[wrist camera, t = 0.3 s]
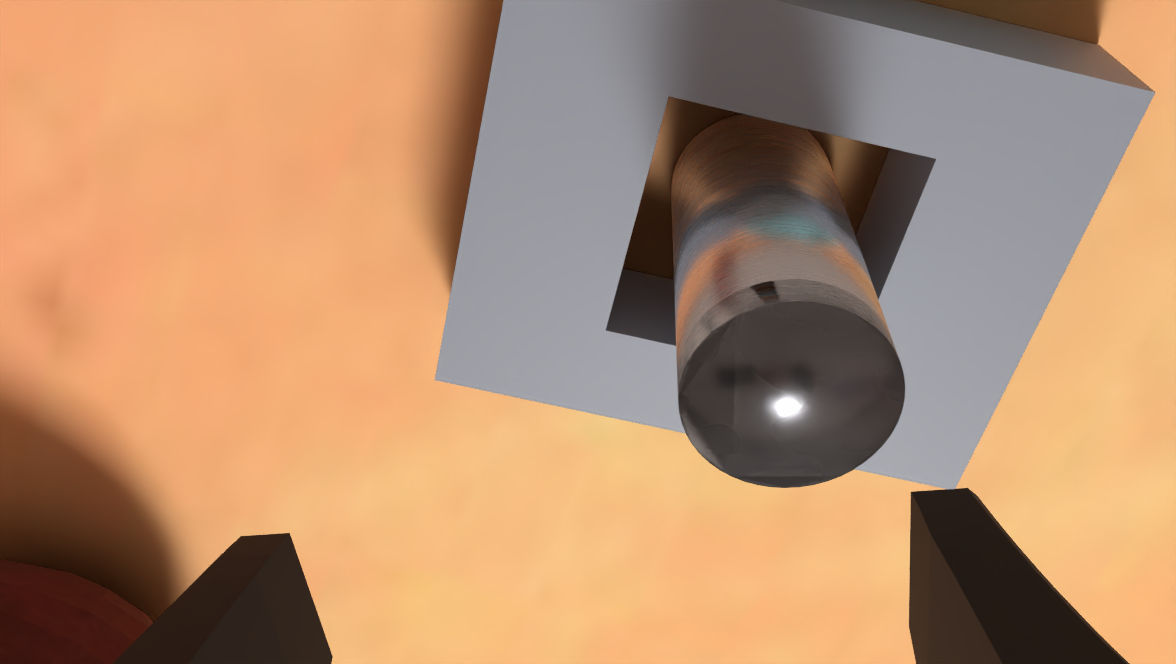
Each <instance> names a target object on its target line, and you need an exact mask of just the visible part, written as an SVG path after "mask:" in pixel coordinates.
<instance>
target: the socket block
mask: <svg viewBox="0 0 1176 664" xmlns="http://www.w3.org/2000/svg"><path fill="white" fill-rule="evenodd" d="M1154 94H1155V92H1154V91H1153V90H1152V89H1151V88H1149V87H1148V86H1147V85H1146V84H1145V83H1144V82H1142V81H1141V80H1140V79H1139V78H1138V77H1136V76H1135V75H1134V74H1133V73H1132V72H1130V71H1129V70H1128V69H1127V68H1126V67H1125V66H1123V65H1122V64H1121V63H1120V62H1119V61H1117V60H1116V59H1115V58H1114V57H1113V56H1111V55H1110V54H1109V53H1108V52H1107V51H1106V50H1104V49H1103V48H1102V47H1101V46H1100V45H1097V44H1092V43H1088V42H1084V41H1080V40H1076V39H1072V38H1068V37H1064V36H1060V35H1055V34H1051V33H1047V32H1043V31H1039V30H1035V29H1031V28H1027V27H1023V26H1019V25H1014V24H1010V23H1006V22H1002V21H998V20H994V19H990V18H986V17H982V16H977V15H973V14H969V13H965V12H961V11H957V10H953V9H949V8H945V7H940V6H936V5H932V4H928V3H924V2H920V1H916V0H503V6H502V11H501V17H500V22H499V28H498V33H497V39H496V45H495V50H494V56H493V61H492V67H491V72H490V78H489V83H488V89H487V94H486V100H485V105H484V111H483V116H482V122H481V127H480V133H479V139H478V144H477V150H476V155H475V161H474V166H473V172H472V177H471V183H470V188H469V194H468V199H467V205H466V210H465V216H464V221H463V227H462V232H461V238H460V244H459V249H458V255H457V260H456V266H455V271H454V277H453V282H452V288H451V293H450V299H449V304H448V310H447V315H446V321H445V326H444V332H443V338H442V343H441V349H440V354H439V360H438V365H437V371H436V376H435V380H437V381H442V382H446V383H451V384H456V385H460V386H465V387H470V388H475V389H479V390H484V391H489V392H493V393H498V394H503V395H507V396H512V397H517V398H522V399H526V400H531V401H536V402H540V403H545V404H550V405H555V406H559V407H564V408H569V409H573V410H578V411H583V412H587V413H592V414H597V415H602V416H606V417H611V418H616V419H620V420H625V421H630V422H634V423H639V424H644V425H649V426H653V427H658V428H663V429H667V430H672V431H677V432H682V433H686V432H685V430H684V428H683V425H682V422H681V418H680V414H679V406H678V384H677V354H676V324H675V294H674V280H673V279H668V278H664V277H659V276H655V275H650V274H646V273H641V272H637V271H632V270H628V269H623V264H624V260H625V257H626V253H627V249H628V246H629V242H630V238H631V234H632V231H633V227H634V223H635V220H636V216H637V212H638V208H639V205H640V201H641V197H642V194H643V190H644V186H645V182H646V179H647V175H648V171H649V168H650V164H651V160H652V156H653V153H654V149H655V145H656V142H657V138H658V134H659V130H660V127H661V123H662V119H663V116H664V112H665V108H666V105H667V101H668V97H673V98H678V99H682V100H686V101H690V102H695V103H699V104H703V105H708V106H712V107H716V108H720V109H725V110H729V111H733V112H737V113H742V114H746V115H750V116H755V117H759V118H763V119H767V120H772V121H776V122H780V123H785V124H789V125H793V126H797V127H802V128H806V129H810V130H815V131H819V132H823V133H827V134H832V135H836V136H840V137H845V138H849V139H853V140H857V141H862V142H866V143H870V144H874V145H879V146H883V147H887V148H890V149H889V151H888V154H887V157H886V159H885V162H884V164H883V167H882V169H881V172H880V175H879V177H878V180H877V182H876V185H875V188H874V190H873V193H872V195H871V198H870V201H869V203H868V206H867V208H866V211H865V213H864V216H863V219H862V221H861V224H860V226H859V229H858V232H857V234H856V239H857V242H858V244H859V247H860V250H861V253H862V256H863V259H864V261H865V264H866V267H867V270H868V273H869V275H870V278H871V281H872V284H873V287H874V289H875V292H876V295H877V298H878V301H879V303H880V306H881V309H882V312H883V315H884V317H885V320H886V323H887V326H888V329H889V331H890V334H891V337H892V340H893V343H894V345H895V348H896V351H897V354H898V357H899V359H900V362H901V366H902V369H903V373H904V379H905V400H904V405H903V410H902V413H901V415H900V418H899V421H898V423H897V425H896V427H895V429H894V431H893V432H892V434H891V436H890V437H889V438H888V440H887V441H886V442H885V444H884V445H883V446H882V447H881V448H880V449H879V450H878V451H877V452H876V453H875V454H874V455H873V456H872V457H871V458H869V459H868V460H867V461H866V462H864V463H863V464H861V465H860V466H858V467H857V468H855V469H856V470H860V471H865V472H870V473H874V474H879V475H884V476H888V477H893V478H898V479H903V480H907V481H912V482H917V483H921V484H926V485H931V486H935V487H940V488H945V489H955V488H956V486H957V484H958V482H959V480H960V478H961V476H962V474H963V472H964V470H965V468H966V466H967V464H968V462H969V460H970V458H971V456H972V454H973V452H974V450H975V448H976V446H977V444H978V442H979V440H980V439H981V437H982V435H983V433H984V431H985V429H986V427H987V425H988V423H989V421H990V419H991V417H992V415H993V413H994V411H995V409H996V407H997V405H998V403H999V401H1000V399H1001V397H1002V395H1003V393H1004V391H1005V389H1006V387H1007V385H1008V383H1009V381H1010V379H1011V377H1012V375H1013V373H1014V371H1015V369H1016V367H1017V365H1018V363H1019V361H1020V359H1021V357H1022V355H1023V353H1024V351H1025V349H1026V347H1027V345H1028V343H1029V341H1030V339H1031V337H1032V335H1033V334H1034V332H1035V330H1036V328H1037V326H1038V324H1039V322H1040V320H1041V318H1042V316H1043V314H1044V312H1045V310H1046V308H1047V306H1048V304H1049V302H1050V300H1051V298H1052V296H1053V294H1054V292H1055V290H1056V288H1057V286H1058V284H1059V282H1060V280H1061V278H1062V276H1063V274H1064V272H1065V270H1066V268H1067V266H1068V264H1069V262H1070V260H1071V258H1072V256H1073V254H1074V252H1075V250H1076V248H1077V246H1078V244H1079V242H1080V240H1081V238H1082V236H1083V234H1084V232H1085V230H1086V228H1087V227H1088V225H1089V223H1090V221H1091V219H1092V217H1093V215H1094V213H1095V211H1096V209H1097V207H1098V205H1099V203H1100V201H1101V199H1102V197H1103V195H1104V193H1105V191H1106V189H1107V187H1108V185H1109V183H1110V181H1111V179H1112V177H1113V175H1114V173H1115V171H1116V169H1117V167H1118V165H1119V163H1120V161H1121V159H1122V157H1123V155H1124V153H1125V151H1126V149H1127V147H1128V145H1129V143H1130V141H1131V139H1132V137H1133V135H1134V133H1135V131H1136V129H1137V127H1138V125H1139V123H1140V122H1141V120H1142V118H1143V116H1144V114H1145V112H1146V110H1147V108H1148V106H1149V104H1150V102H1151V100H1152V98H1153V96H1154Z"/></svg>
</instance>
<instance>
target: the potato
mask: <svg viewBox="0 0 1176 664" xmlns="http://www.w3.org/2000/svg"><path fill="white" fill-rule="evenodd" d="M152 624H153V622H152V620H151V619H150V618H149V617H148V615H147V614H146V613H144V612H143V611H141V610H140V609H138V608H136V607H135V606H133V605H132V604H130V603H129V602H127V601H126V600H124V599H123V598H121V597H120V596H118V595H117V594H115V593H114V592H112V591H111V590H109V589H107V588H105V587H103V586H101V585H98V584H96V583H94V582H91V581H89V580H87V579H84V578H82V577H80V576H77V575H75V574H73V573H70V572H66V571H60V570H55V569H50V568H45V567H40V566H34V565H29V564H24V563H19V562H14V561H9V560H4V559H0V664H112V663H113V662H114V661H115V660H116V659H117V658H118V657H119V656H120V655H121V654H122V653H123V652H124V651H125V650H126V649H127V648H128V647H129V646H130V645H131V644H132V643H133V642H134V641H135V640H136V639H137V638H138V637H139V636H140V635H141V634H143V633H144V632H145V631H146V630H147V629H148V628H149V627H150V626H151V625H152Z"/></svg>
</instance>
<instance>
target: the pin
mask: <svg viewBox="0 0 1176 664" xmlns="http://www.w3.org/2000/svg"><path fill="white" fill-rule="evenodd" d="M671 205H672V235H673V264H674V294H675V324H676V354H677V384H678V406H679V414H680V418H681V422H682V425H683V428H684V430H685V432H686V435H687V436H688V438H689V440H690V441H691V443H692V445H693V446H694V447H695V448H696V450H697V451H698V452H699V453H700V454H701V455H702V456H703V457H704V458H705V459H706V460H707V461H708V462H709V463H711V464H712V465H713V466H715V467H716V468H718V469H719V470H721V471H723V472H724V473H726V474H728V475H730V476H732V477H735V478H737V479H740V480H742V481H745V482H749V483H752V484H756V485H762V486H768V487H781V488H789V487H802V486H809V485H815V484H818V483H822V482H826V481H829V480H832V479H834V478H837V477H840V476H842V475H844V474H846V473H848V472H850V471H852V470H854V469H855V468H857V467H858V466H860V465H861V464H863V463H864V462H866V461H867V460H868V459H869V458H871V457H872V456H873V455H874V454H875V453H876V452H877V451H878V450H879V449H880V448H881V447H882V446H883V445H884V444H885V442H886V441H887V440H888V438H889V437H890V436H891V434H892V432H893V431H894V429H895V427H896V425H897V423H898V421H899V418H900V415H901V413H902V410H903V405H904V400H905V379H904V373H903V369H902V366H901V362H900V359H899V357H898V354H897V351H896V348H895V345H894V343H893V340H892V337H891V334H890V331H889V329H888V326H887V323H886V320H885V317H884V315H883V312H882V309H881V306H880V303H879V301H878V298H877V295H876V292H875V289H874V287H873V284H872V281H871V278H870V275H869V273H868V270H867V267H866V264H865V261H864V259H863V256H862V253H861V250H860V247H859V244H858V242H857V239H856V236H855V233H854V230H853V228H852V225H851V222H850V219H849V216H848V214H847V211H846V208H845V205H844V202H843V200H842V197H841V194H840V191H839V188H838V186H837V183H836V180H835V177H834V174H833V172H832V169H831V166H830V163H829V160H828V158H827V156H826V154H825V151H824V149H823V148H822V146H821V145H820V143H819V142H818V141H817V140H816V138H815V137H814V136H813V135H812V134H811V133H810V132H808V131H807V130H806V129H805V128H802V127H797V126H793V125H789V124H785V123H780V122H776V121H772V120H767V119H763V118H759V117H755V116H750V115H746V114H738V115H733V116H730V117H727V118H724V119H721V120H719V121H717V122H715V123H713V124H711V125H710V126H708V127H707V128H705V129H704V130H702V131H701V132H700V133H699V134H698V135H696V136H695V137H694V138H693V139H692V140H691V142H690V143H689V144H688V145H687V146H686V148H685V149H684V151H683V152H682V154H681V155H680V157H679V159H678V161H677V164H676V166H675V169H674V172H673V177H672V184H671Z"/></svg>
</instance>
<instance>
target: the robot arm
mask: <svg viewBox="0 0 1176 664" xmlns="http://www.w3.org/2000/svg"><path fill="white" fill-rule="evenodd" d="M909 628H910V634H911V639H912V644H913V649H914V654H915V659H916V664H1129V663H1128V662H1127V661H1126V660H1125V659H1124V658H1123V657H1122V656H1121V655H1120V654H1119V653H1118V652H1117V651H1116V650H1114V649H1113V648H1112V647H1111V646H1110V645H1109V644H1108V643H1107V642H1106V641H1105V640H1104V639H1103V638H1102V637H1101V636H1100V635H1099V634H1098V633H1097V632H1096V631H1095V630H1094V629H1093V628H1092V627H1091V625H1090V624H1089V623H1088V622H1087V621H1086V620H1085V619H1084V618H1083V617H1082V616H1081V615H1080V614H1079V613H1078V612H1077V611H1076V610H1075V609H1074V608H1073V607H1072V606H1071V605H1070V603H1069V602H1068V601H1067V600H1066V599H1065V598H1064V597H1063V596H1062V595H1061V594H1060V593H1059V592H1058V591H1057V590H1056V589H1055V588H1054V587H1053V585H1052V584H1051V583H1050V582H1049V581H1048V580H1047V579H1046V578H1045V577H1044V576H1043V574H1042V573H1041V572H1040V571H1039V570H1038V569H1037V568H1036V566H1035V565H1034V564H1033V563H1032V562H1031V561H1030V560H1029V558H1028V557H1027V556H1026V555H1025V554H1024V553H1023V552H1022V550H1021V549H1020V548H1019V547H1018V546H1017V545H1016V543H1015V542H1014V541H1013V540H1012V539H1011V537H1010V536H1009V535H1008V534H1007V533H1006V531H1005V530H1004V529H1003V528H1002V527H1001V525H1000V524H999V523H998V522H997V520H996V519H995V518H994V517H993V515H992V514H991V513H990V512H989V510H988V509H987V508H986V507H985V505H984V504H983V503H982V501H981V500H980V499H979V498H978V496H977V495H975V494H974V493H973V492H972V491H971V490H969V489H968V488H962V489H947V490H932V491H917V492H911V530H910V600H909ZM331 662H332V654H331V651H330V648H329V645H328V642H327V640H326V637H325V634H324V631H323V628H322V625H321V622H320V619H319V616H318V614H317V611H316V608H315V605H314V602H313V599H312V596H311V593H310V591H309V588H308V585H307V582H306V579H305V576H304V573H303V570H302V568H301V565H300V562H299V559H298V556H297V553H296V550H295V547H294V544H293V542H292V539H291V536H290V533H284V534H269V535H254V536H241V537H240V538H239V539H238V540H237V541H235V542H234V543H233V544H232V545H231V546H230V547H229V548H228V549H227V550H226V551H225V552H224V553H223V554H222V555H221V556H220V557H219V558H218V559H217V560H216V561H215V562H214V563H213V564H212V565H210V566H209V567H208V568H207V569H206V570H205V571H204V572H203V574H202V575H201V576H200V577H199V578H198V579H197V580H196V581H195V582H194V583H193V584H192V585H191V586H190V587H189V588H188V589H187V590H186V591H185V592H184V593H183V594H182V595H181V596H180V597H179V598H178V599H177V600H176V601H175V602H174V603H173V604H172V605H171V606H170V607H169V608H168V609H167V610H166V611H165V612H164V613H163V614H162V615H161V616H160V617H159V618H158V619H157V620H156V621H155V622H154V623H153V624H152V625H151V626H150V627H149V628H148V629H147V630H146V631H145V632H144V633H143V634H141V635H140V636H139V637H138V638H137V639H136V640H135V641H134V642H133V643H132V644H131V645H130V646H129V647H128V648H127V649H126V650H125V651H124V652H123V653H122V654H121V655H120V656H119V657H118V658H117V659H116V660H115V661H114V662H113V663H112V664H331Z"/></svg>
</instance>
